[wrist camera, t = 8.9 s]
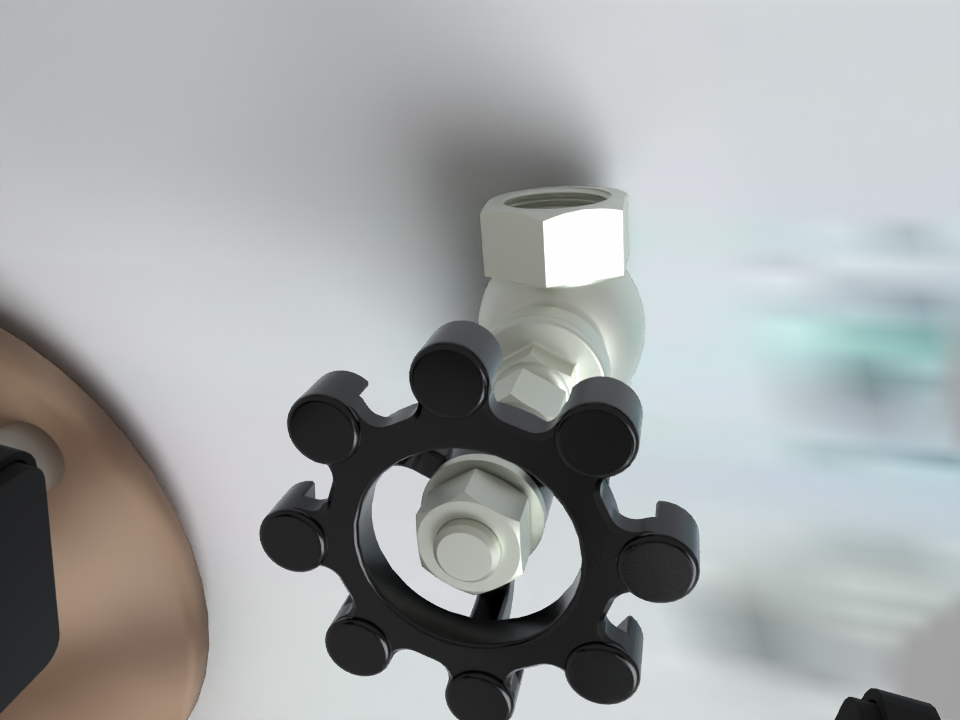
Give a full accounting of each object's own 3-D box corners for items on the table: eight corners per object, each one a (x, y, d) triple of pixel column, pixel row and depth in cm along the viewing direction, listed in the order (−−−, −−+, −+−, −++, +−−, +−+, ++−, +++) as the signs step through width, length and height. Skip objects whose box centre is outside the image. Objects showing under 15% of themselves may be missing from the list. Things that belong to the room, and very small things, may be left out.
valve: (465, 408, 25) (291, 707, 14) (446, 187, 22) (217, 341, 12) (692, 415, 23) (695, 760, 12) (697, 178, 21) (706, 347, 10)
